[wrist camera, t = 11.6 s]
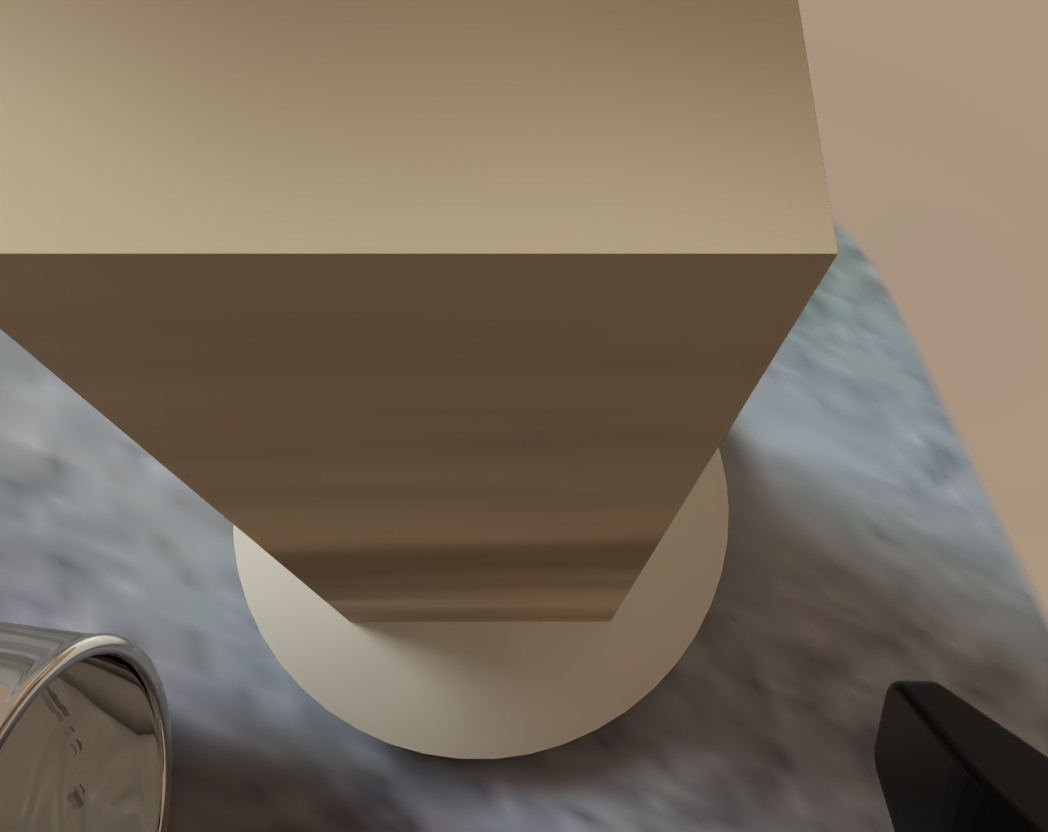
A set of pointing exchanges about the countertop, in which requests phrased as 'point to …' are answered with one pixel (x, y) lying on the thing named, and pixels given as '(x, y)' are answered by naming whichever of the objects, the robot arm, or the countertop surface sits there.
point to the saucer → (496, 650)
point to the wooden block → (416, 269)
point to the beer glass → (81, 734)
